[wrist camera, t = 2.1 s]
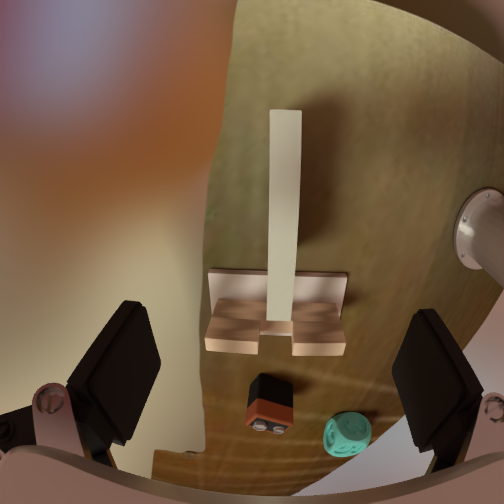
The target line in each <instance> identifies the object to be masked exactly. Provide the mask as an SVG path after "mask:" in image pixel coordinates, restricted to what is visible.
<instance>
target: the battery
mask: <svg viewBox="0 0 504 504" xmlns="http://www.w3.org/2000/svg"><path fill="white" fill-rule="evenodd" d="M245 424H246V425H247V426H250V427H253V428H254V429H255V430H259V431H264V430H265V431H269V432H272V433H275V434H282V433H283V432H284V431H285V430H287V429H288V428H289V427H291V426H292V425H293V385H292V384H290V383H287V382H284V381H281V380H278V379H275V378H272V377H269V376H266V375H264V374H259V376H258V377H257V378H256V379H255V380H254V381H253V382H252V384H251V385H250V389H249V397H248V405H247V413H246V421H245Z"/></svg>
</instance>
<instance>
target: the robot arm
mask: <svg viewBox="0 0 504 504" xmlns="http://www.w3.org/2000/svg"><path fill="white" fill-rule="evenodd" d="M453 238H454V248H455V252H456V255H457V257H458V259H459V260H460V261H461V262H462V263H463V264H464V265H465V266H466V267H468V268H470V269H482V268H483V269H484V270H485V271H486V272H488V273H489V274H490V275H491V276H492V277H493V278H494V279H495V280H496V281H497V282H498V283H499V284H500V285H501V286H502V287H503V288H504V196H503V195H502V194H501V193H499V192H498V191H496V190H494V189H489V188H486V189H481V190H479V191H477V192H475V193H474V194H472V195H471V196H470V197H469V198H468V199H467V201H466V202H465V204H464V205H463V207H462V208H461V210H460V212H459V215H458V217H457V220H456V224H455V228H454V237H453ZM160 366H161V360H160V357H159V353H158V350H157V346H156V343H155V340H154V336H153V332H152V329H151V325H150V321H149V317H148V314H147V310H146V308H145V307H144V306H142V304H141V303H140V302H136V301H127V300H125V301H124V302H122V304H121V305H120V306H119V308H118V309H117V310H116V312H115V313H114V314H113V316H112V317H111V318H110V320H109V321H108V323H107V324H106V325H105V327H104V328H103V330H102V331H101V332H100V334H99V335H98V336H97V338H96V339H95V341H94V342H93V343H92V345H91V346H90V348H89V349H88V351H87V352H86V354H85V355H84V357H83V358H82V359H81V361H80V363H79V364H78V365H77V367H76V368H75V370H74V371H73V373H72V374H71V376H70V377H69V379H68V381H67V383H68V384H67V385H66V387H64V386H63V385H61V384H59V383H48V384H46V385H43V386H42V387H40V388H39V389H38V390H37V391H36V393H35V394H34V397H33V400H32V405H30V406H27V407H24V408H21V409H18V410H15V411H12V412H9V413H5V414H2V415H0V504H504V396H502V395H501V394H499V393H489V394H487V395H485V396H484V397H482V395H481V394H482V392H483V391H484V389H483V387H482V386H481V384H480V382H479V380H478V378H477V377H476V375H475V373H474V371H473V369H472V368H471V366H470V364H469V362H468V361H467V359H466V357H465V356H464V354H463V352H462V351H461V349H460V347H459V346H458V344H457V342H456V341H455V339H454V338H453V336H452V335H451V333H450V332H449V330H448V328H447V327H446V325H445V324H444V322H443V321H442V319H441V318H440V316H439V315H438V314H437V312H436V311H435V310H434V309H420V310H418V311H417V313H416V314H414V315H413V317H412V320H411V322H410V325H409V328H408V330H407V333H406V335H405V338H404V340H403V343H402V345H401V348H400V350H399V352H398V355H397V357H396V359H395V361H394V364H393V366H392V376H393V378H394V381H395V384H396V387H397V390H398V393H399V396H400V399H401V402H402V405H403V408H404V411H405V415H406V418H407V421H408V425H409V428H410V431H411V435H412V438H413V442H414V444H415V446H416V447H418V448H419V452H420V453H422V452H426V451H429V450H432V449H433V450H434V457H433V459H432V461H431V463H430V465H429V467H428V469H427V471H426V473H425V475H424V476H421V477H417V478H414V479H410V480H407V481H403V482H399V483H395V484H391V485H386V486H381V487H376V488H372V489H366V490H359V491H352V492H345V493H337V494H327V495H314V496H283V497H281V496H250V495H237V494H227V493H219V492H211V491H204V490H198V489H192V488H187V487H182V486H177V485H172V484H168V483H164V482H160V481H156V480H152V479H148V478H145V477H141V476H137V475H134V474H131V473H127V472H124V471H121V470H118V469H117V466H116V464H115V461H114V459H113V457H112V454H111V452H110V446H111V444H112V443H115V444H118V445H122V446H125V443H126V441H127V440H130V439H131V438H132V436H133V433H134V431H135V428H136V426H137V423H138V421H139V418H140V416H141V413H142V410H143V408H144V406H145V403H146V401H147V398H148V396H149V394H150V391H151V389H152V386H153V384H154V382H155V379H156V377H157V375H158V372H159V370H160Z"/></svg>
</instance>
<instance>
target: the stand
mask: <svg viewBox="0 0 504 504" xmlns="http://www.w3.org/2000/svg"><path fill="white" fill-rule="evenodd" d="M208 277H209V288H210V299H211V309H212V317H211V320H210V323H209V326H208V329H207V332H206V335H205V344H206V350H208V351H219V352H231V353H245V354H258V345H259V335H280V336H292V355H294V356H331V355H343V353H344V349H345V345H346V340H345V337H344V333H343V329H342V325H341V321H340V313H341V309H342V304H343V299H344V293H345V288H346V283H347V276H346V273H317V272H295V278H294V290H293V302H292V313H291V321H270V320H266V318H267V285H268V271H255V270H230V269H210V270H209V272H208Z"/></svg>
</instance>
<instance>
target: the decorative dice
mask: <svg viewBox="0 0 504 504" xmlns="http://www.w3.org/2000/svg"><path fill="white" fill-rule="evenodd" d="M370 438H371V425H370V422H369V421H368V419H367V418H366V417H365V416H363V415H362V414H360V413H357V412H345V413H341V414H338V415H335V416H334V417H332V418H331V419H330V420H329V421H328V422H327V424H326V427H325V430H324V437H323V443H324V448H325V450H326V451H327V452H328V453H330V454H331V455H333V456H336V457H345V456H351V455H354V454H357V453H359V452H361V451H363V450H364V449H365V448H366V447H367V446H368V444H369V441H370Z"/></svg>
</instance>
